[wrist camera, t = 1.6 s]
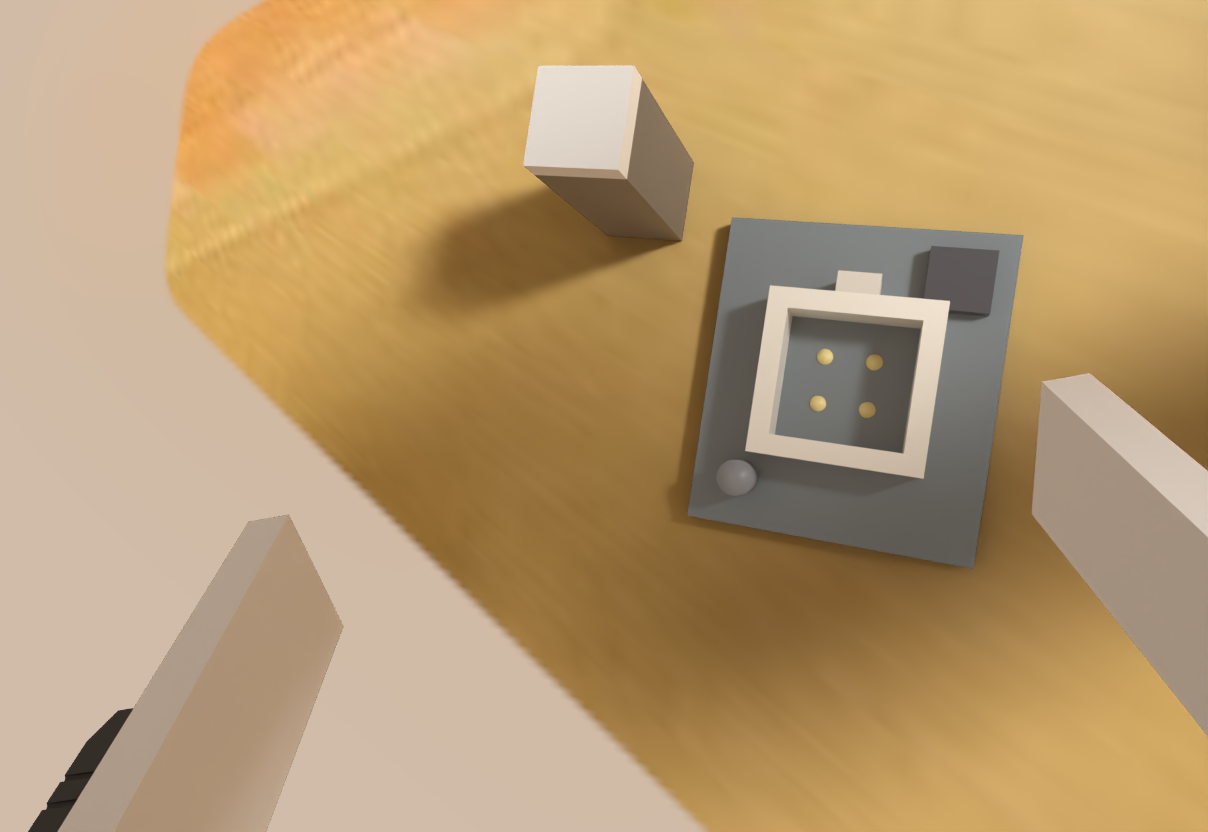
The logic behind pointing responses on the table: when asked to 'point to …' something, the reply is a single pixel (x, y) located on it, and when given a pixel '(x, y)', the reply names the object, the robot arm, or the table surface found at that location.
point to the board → (856, 384)
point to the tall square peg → (609, 150)
